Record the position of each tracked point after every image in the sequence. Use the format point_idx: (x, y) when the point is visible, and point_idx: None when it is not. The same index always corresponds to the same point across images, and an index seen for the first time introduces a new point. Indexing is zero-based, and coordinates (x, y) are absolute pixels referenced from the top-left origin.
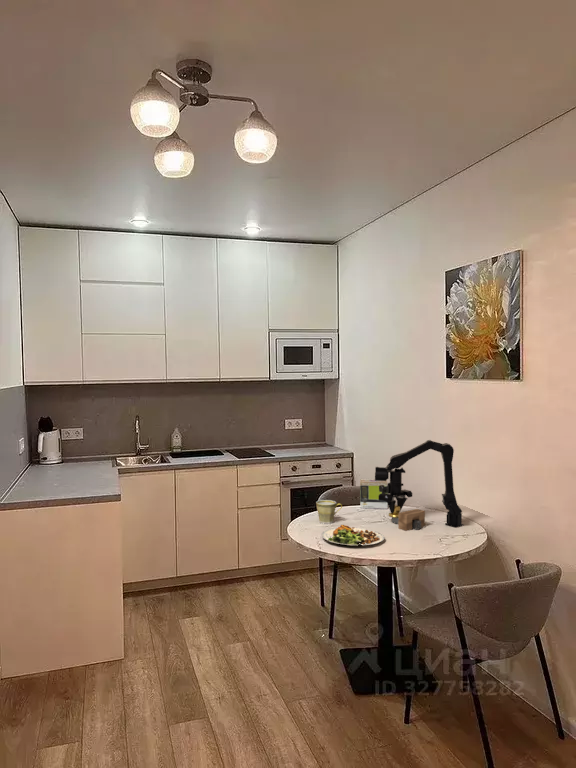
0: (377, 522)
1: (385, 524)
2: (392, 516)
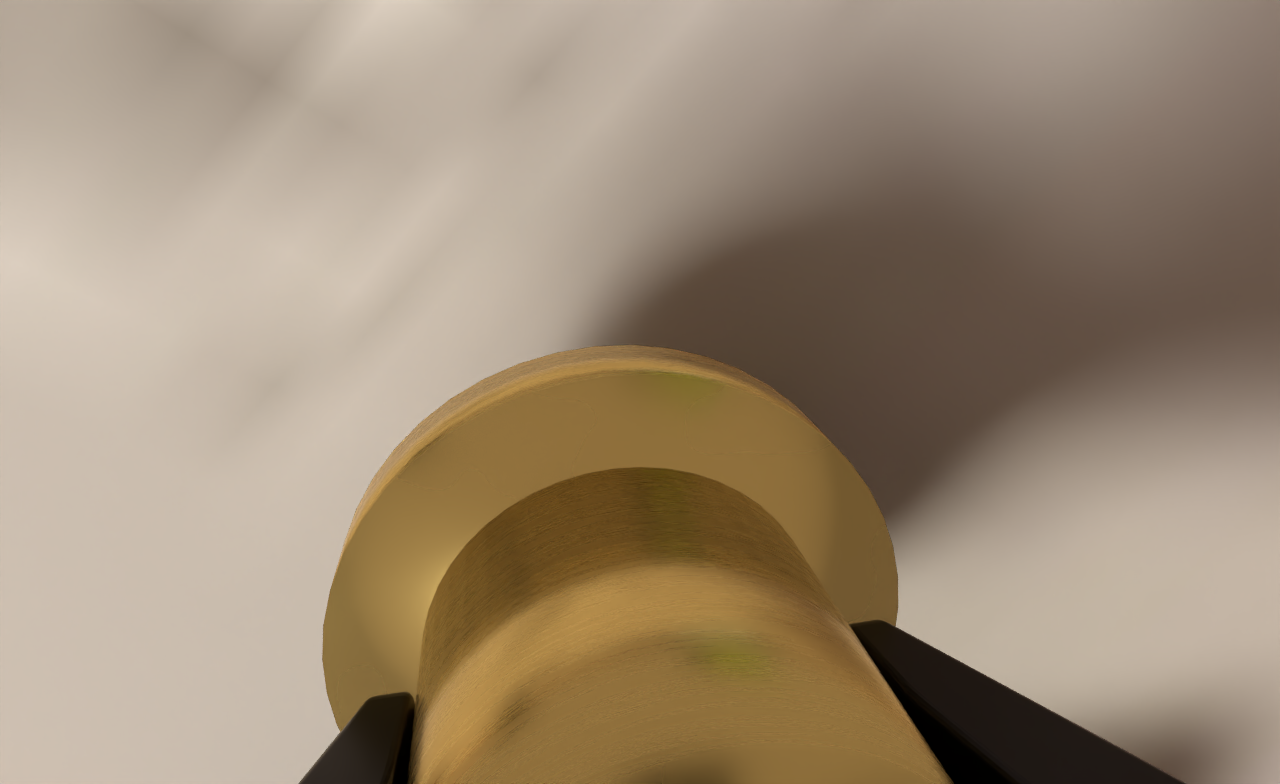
0: (7, 132)
1: (153, 483)
2: None
